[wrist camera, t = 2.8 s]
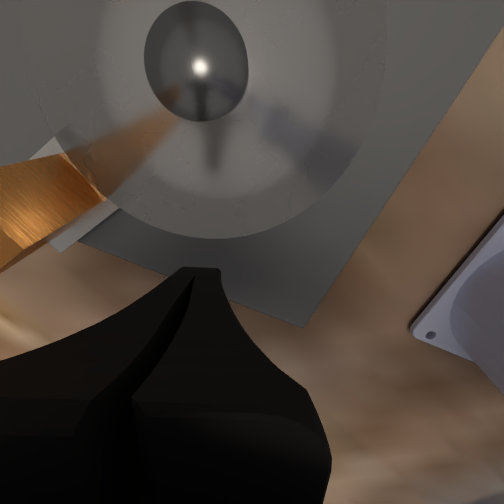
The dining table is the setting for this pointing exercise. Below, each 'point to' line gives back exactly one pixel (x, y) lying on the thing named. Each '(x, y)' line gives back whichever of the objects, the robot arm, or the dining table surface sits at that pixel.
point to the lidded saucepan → (189, 113)
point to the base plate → (324, 209)
